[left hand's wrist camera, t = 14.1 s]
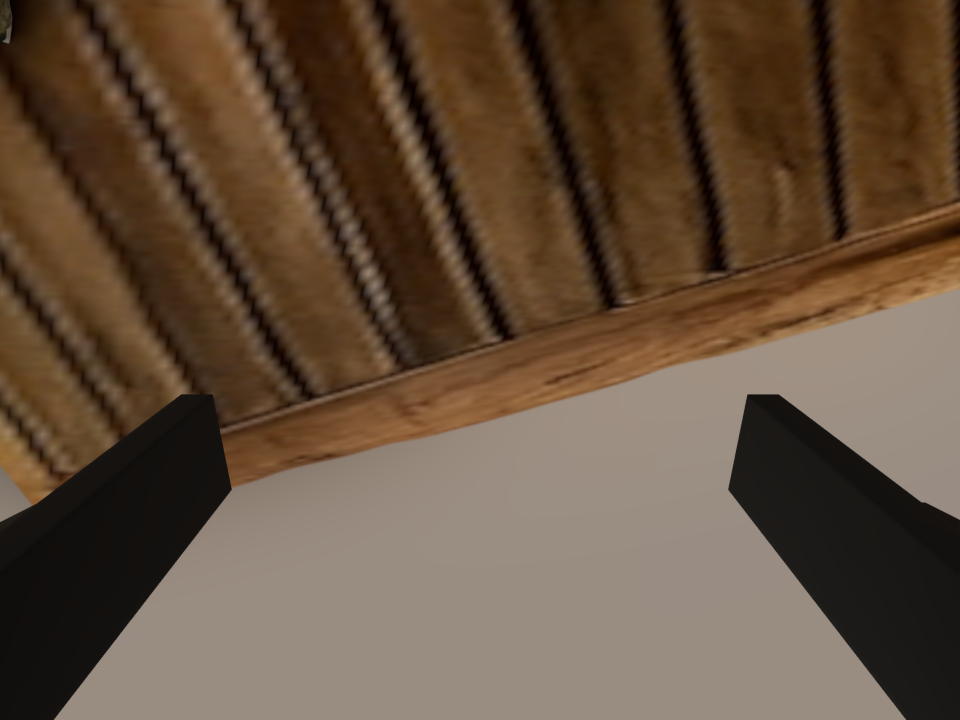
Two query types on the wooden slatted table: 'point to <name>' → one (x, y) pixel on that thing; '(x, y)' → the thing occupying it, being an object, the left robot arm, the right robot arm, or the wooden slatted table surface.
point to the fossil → (5, 21)
